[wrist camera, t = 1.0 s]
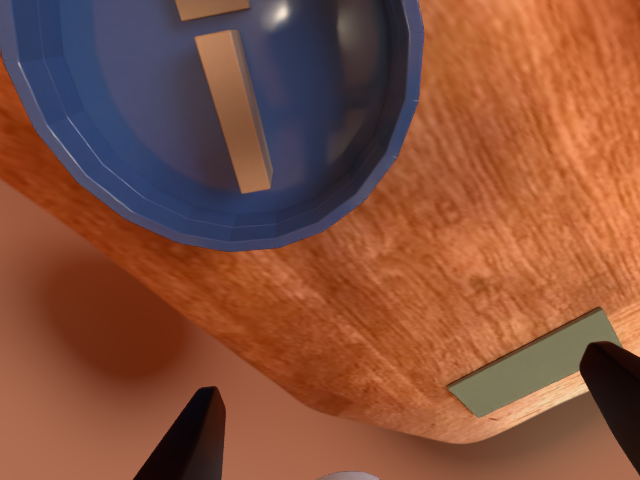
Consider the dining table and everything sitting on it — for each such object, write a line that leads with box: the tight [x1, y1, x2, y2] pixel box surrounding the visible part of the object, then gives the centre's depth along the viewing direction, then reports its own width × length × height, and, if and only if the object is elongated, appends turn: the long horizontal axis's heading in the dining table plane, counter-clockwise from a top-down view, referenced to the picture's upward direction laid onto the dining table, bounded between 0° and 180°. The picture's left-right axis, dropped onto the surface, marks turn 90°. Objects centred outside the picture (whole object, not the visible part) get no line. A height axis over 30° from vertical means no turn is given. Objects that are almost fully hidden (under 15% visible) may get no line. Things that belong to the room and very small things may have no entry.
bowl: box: [0, 0, 424, 252], centre depth 15 cm, size 15×15×4 cm
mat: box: [447, 307, 623, 418], centre depth 29 cm, size 13×6×1 cm, turn 129°
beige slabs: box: [175, 0, 273, 194], centre depth 15 cm, size 11×3×2 cm, turn 9°
